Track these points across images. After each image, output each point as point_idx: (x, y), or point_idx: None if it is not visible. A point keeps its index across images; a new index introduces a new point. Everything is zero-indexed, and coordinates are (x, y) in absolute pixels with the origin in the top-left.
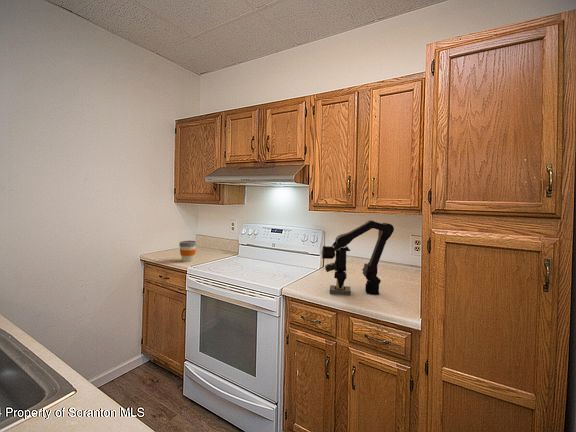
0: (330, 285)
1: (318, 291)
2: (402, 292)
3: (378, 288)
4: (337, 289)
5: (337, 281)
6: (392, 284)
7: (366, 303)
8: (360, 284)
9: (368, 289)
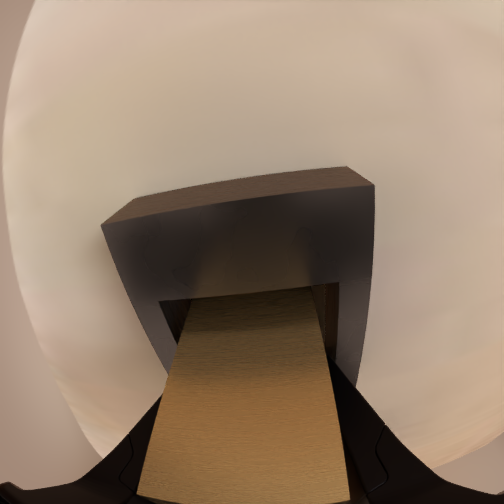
0: (356, 192)
1: (180, 15)
2: None
3: None
4: (169, 333)
5: (159, 442)
6: (444, 448)
7: (128, 430)
8: (481, 380)
9: None
